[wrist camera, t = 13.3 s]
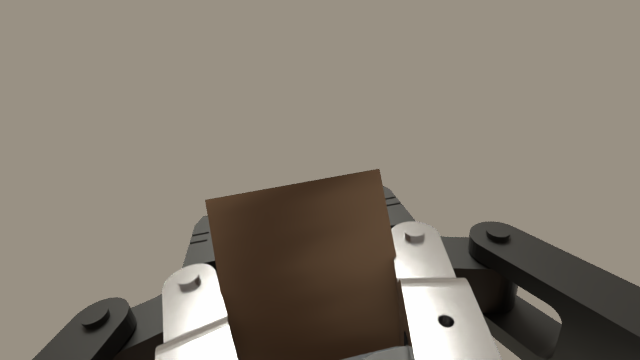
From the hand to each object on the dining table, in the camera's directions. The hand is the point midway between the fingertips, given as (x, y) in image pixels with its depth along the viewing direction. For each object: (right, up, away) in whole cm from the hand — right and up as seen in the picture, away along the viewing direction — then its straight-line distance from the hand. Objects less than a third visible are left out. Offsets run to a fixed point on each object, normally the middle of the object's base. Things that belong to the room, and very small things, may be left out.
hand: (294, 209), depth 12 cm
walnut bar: (0, -4, +6) cm, 7 cm away
